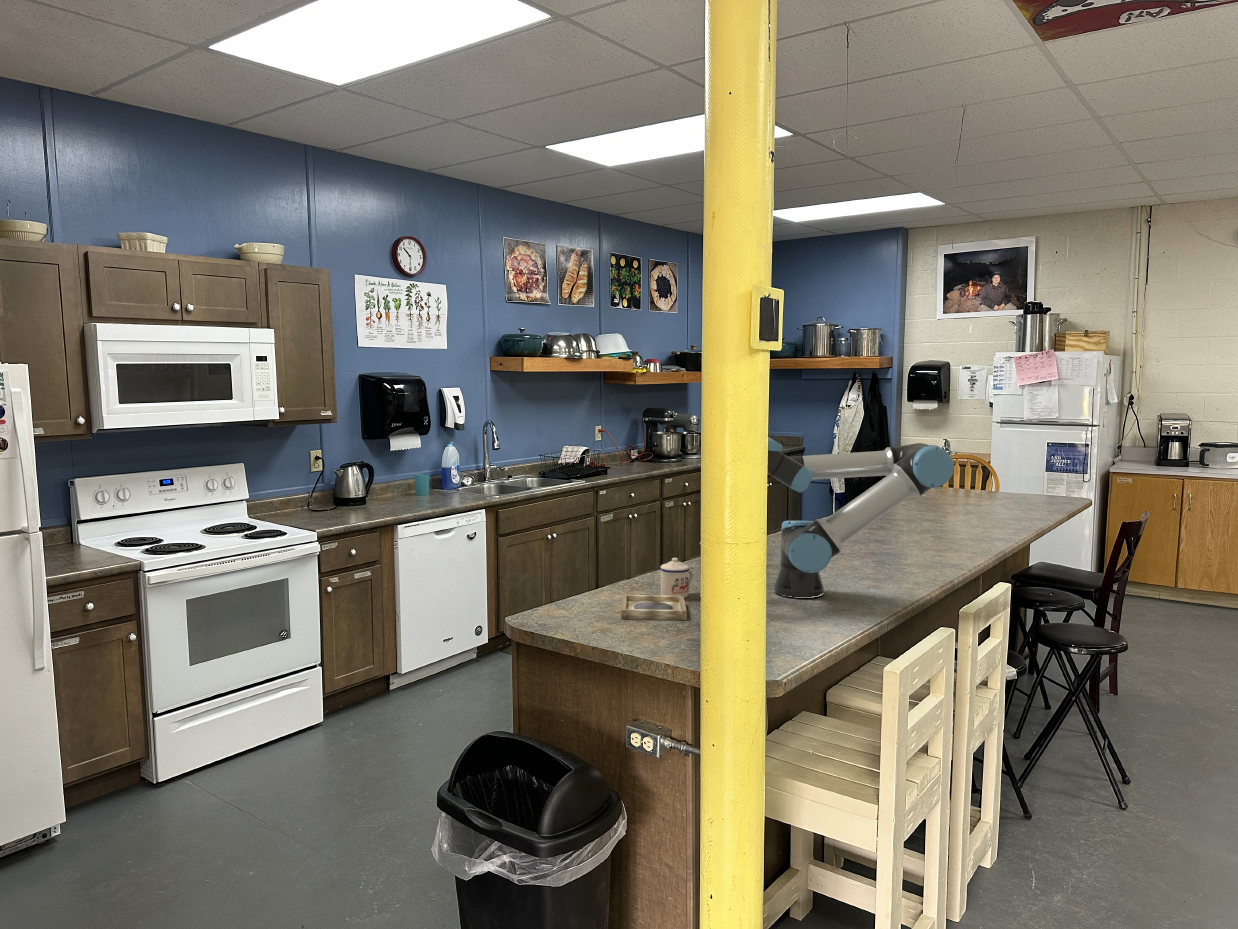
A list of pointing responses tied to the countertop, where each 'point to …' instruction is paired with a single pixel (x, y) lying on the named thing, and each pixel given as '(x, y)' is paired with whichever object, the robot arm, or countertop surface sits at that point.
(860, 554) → the countertop surface
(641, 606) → the birch tray
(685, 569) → the teacup with lid
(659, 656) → the countertop surface
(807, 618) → the countertop surface
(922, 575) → the countertop surface
